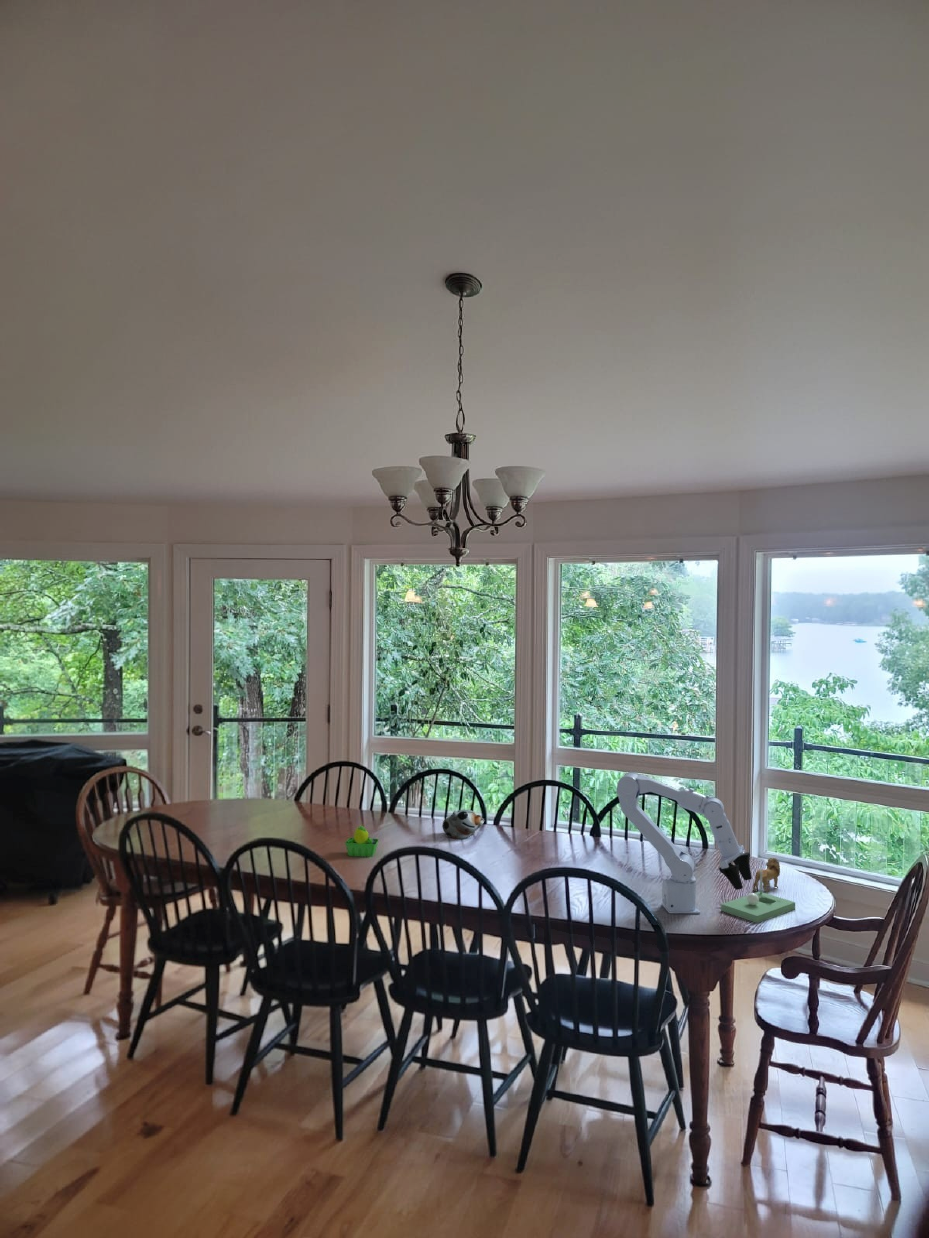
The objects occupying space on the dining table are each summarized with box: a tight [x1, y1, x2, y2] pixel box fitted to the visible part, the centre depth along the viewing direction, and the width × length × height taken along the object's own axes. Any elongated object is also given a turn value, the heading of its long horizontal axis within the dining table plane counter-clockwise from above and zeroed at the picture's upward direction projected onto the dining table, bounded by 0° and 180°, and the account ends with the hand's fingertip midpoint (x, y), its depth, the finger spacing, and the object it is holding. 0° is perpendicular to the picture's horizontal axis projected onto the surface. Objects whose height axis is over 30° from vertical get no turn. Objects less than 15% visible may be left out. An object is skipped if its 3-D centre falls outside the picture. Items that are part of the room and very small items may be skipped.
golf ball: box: [746, 892, 759, 905], centre depth 231 cm, size 4×4×4 cm
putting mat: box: [720, 868, 796, 924], centre depth 233 cm, size 22×12×9 cm, turn 127°
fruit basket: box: [344, 825, 379, 858], centre depth 285 cm, size 11×9×11 cm
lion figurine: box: [752, 857, 781, 893], centre depth 252 cm, size 15×5×9 cm, turn 137°
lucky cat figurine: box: [441, 809, 485, 840], centre depth 313 cm, size 15×12×14 cm
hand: (743, 884), depth 226 cm, fingers open, 7 cm apart
